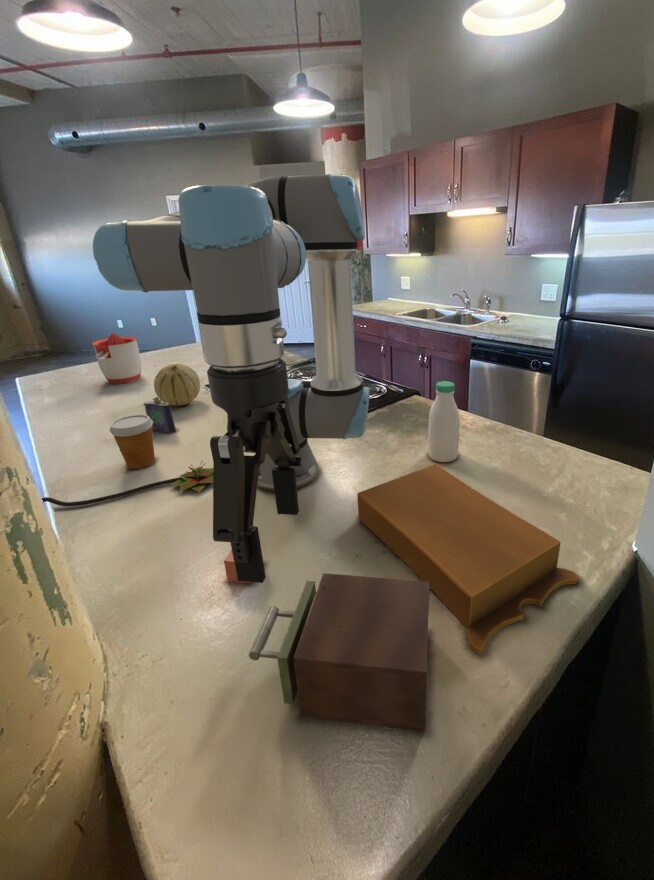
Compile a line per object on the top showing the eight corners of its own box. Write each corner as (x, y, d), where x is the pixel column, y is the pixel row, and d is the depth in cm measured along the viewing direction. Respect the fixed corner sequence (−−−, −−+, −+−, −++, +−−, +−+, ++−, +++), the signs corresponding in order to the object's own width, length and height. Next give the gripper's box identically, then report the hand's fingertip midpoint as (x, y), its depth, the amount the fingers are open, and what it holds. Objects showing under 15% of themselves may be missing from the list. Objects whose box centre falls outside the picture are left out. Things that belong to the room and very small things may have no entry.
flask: (148, 429, 128) (140, 397, 124) (155, 426, 130) (148, 394, 127) (171, 433, 125) (164, 400, 121) (179, 429, 128) (172, 397, 124)
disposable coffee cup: (169, 458, 110) (160, 417, 106) (136, 475, 102) (124, 431, 98) (145, 451, 114) (135, 411, 110) (111, 468, 106) (99, 425, 102)
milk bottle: (457, 464, 105) (460, 389, 98) (426, 461, 106) (428, 387, 99) (458, 450, 112) (461, 379, 105) (429, 447, 113) (431, 378, 106)
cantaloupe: (189, 394, 158) (181, 355, 152) (212, 402, 149) (204, 361, 144) (150, 406, 146) (140, 365, 141) (172, 415, 138) (162, 372, 133)
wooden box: (440, 461, 94) (585, 549, 66) (440, 486, 96) (579, 581, 68) (350, 495, 82) (480, 619, 54) (351, 523, 84) (477, 655, 56)
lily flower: (159, 490, 96) (155, 472, 95) (197, 465, 107) (194, 449, 105) (199, 500, 92) (196, 482, 90) (235, 473, 103) (233, 457, 101)
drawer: (245, 699, 51) (236, 653, 48) (279, 619, 61) (273, 577, 59) (396, 717, 48) (395, 669, 46) (403, 630, 59) (403, 588, 56)
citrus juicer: (90, 386, 168) (76, 338, 161) (122, 373, 184) (110, 329, 177) (124, 388, 166) (111, 338, 159) (153, 375, 182) (143, 329, 175)
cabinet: (300, 716, 50) (293, 658, 46) (327, 624, 61) (322, 572, 58) (425, 731, 48) (426, 672, 44) (427, 634, 60) (429, 581, 56)
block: (227, 581, 70) (223, 560, 68) (239, 562, 74) (235, 542, 72) (252, 583, 69) (249, 562, 68) (263, 564, 73) (259, 544, 72)
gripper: (227, 405, 30) (264, 631, 38) (315, 336, 51) (327, 489, 59) (131, 403, 31) (187, 623, 39) (257, 336, 52) (276, 486, 60)
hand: (272, 542), depth 49 cm, fingers open, 11 cm apart
